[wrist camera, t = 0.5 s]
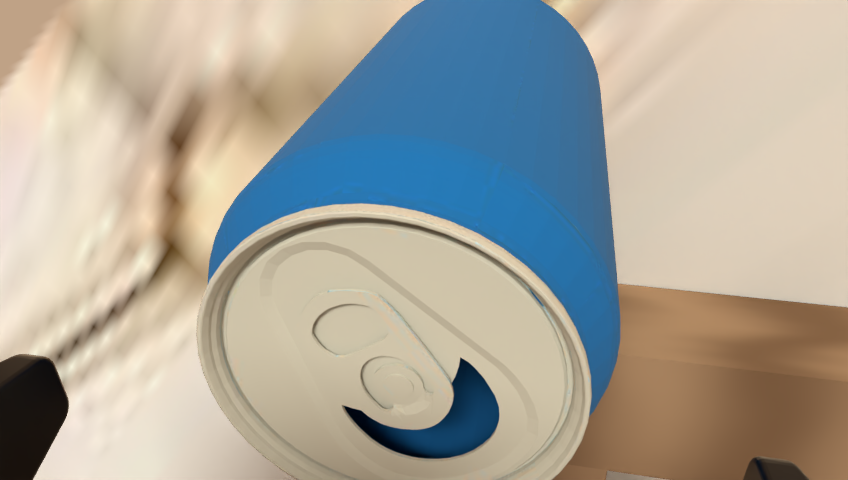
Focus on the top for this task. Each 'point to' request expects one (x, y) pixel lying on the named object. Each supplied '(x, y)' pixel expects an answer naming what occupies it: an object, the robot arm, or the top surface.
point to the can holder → (720, 389)
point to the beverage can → (426, 261)
